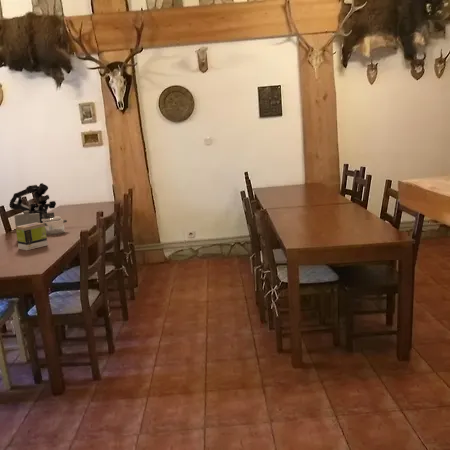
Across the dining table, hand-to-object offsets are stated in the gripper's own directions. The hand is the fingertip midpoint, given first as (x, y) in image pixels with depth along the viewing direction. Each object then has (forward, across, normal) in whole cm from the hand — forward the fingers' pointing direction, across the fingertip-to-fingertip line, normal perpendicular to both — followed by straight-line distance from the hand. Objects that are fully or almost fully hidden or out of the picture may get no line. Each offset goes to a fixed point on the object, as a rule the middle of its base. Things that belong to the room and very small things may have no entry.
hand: (46, 214), depth 387 cm
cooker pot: (+19, -1, -3) cm, 19 cm away
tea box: (+44, -28, -27) cm, 59 cm away
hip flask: (+25, -22, -9) cm, 35 cm away
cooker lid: (+9, 0, -6) cm, 11 cm away
